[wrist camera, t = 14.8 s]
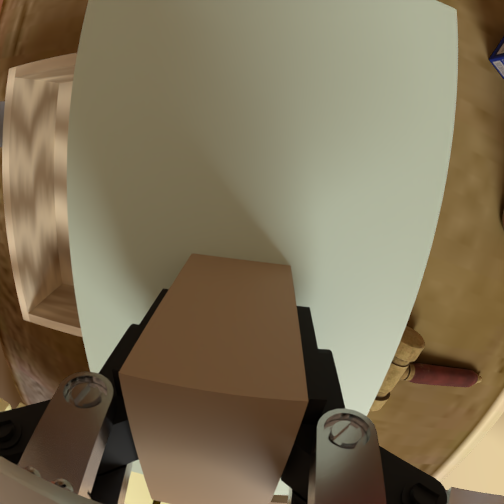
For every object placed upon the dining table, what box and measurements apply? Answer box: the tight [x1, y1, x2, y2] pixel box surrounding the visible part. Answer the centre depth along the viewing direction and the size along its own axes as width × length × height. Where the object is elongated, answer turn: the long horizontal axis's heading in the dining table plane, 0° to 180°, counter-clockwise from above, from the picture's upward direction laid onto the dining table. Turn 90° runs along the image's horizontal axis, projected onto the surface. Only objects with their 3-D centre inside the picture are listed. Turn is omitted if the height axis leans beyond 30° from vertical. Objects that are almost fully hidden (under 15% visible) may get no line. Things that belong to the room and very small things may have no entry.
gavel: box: [369, 326, 482, 411], centre depth 33 cm, size 21×5×10 cm
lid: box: [67, 0, 458, 504], centre depth 9 cm, size 24×12×7 cm, turn 174°
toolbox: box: [0, 53, 82, 337], centre depth 25 cm, size 24×15×9 cm, turn 174°
